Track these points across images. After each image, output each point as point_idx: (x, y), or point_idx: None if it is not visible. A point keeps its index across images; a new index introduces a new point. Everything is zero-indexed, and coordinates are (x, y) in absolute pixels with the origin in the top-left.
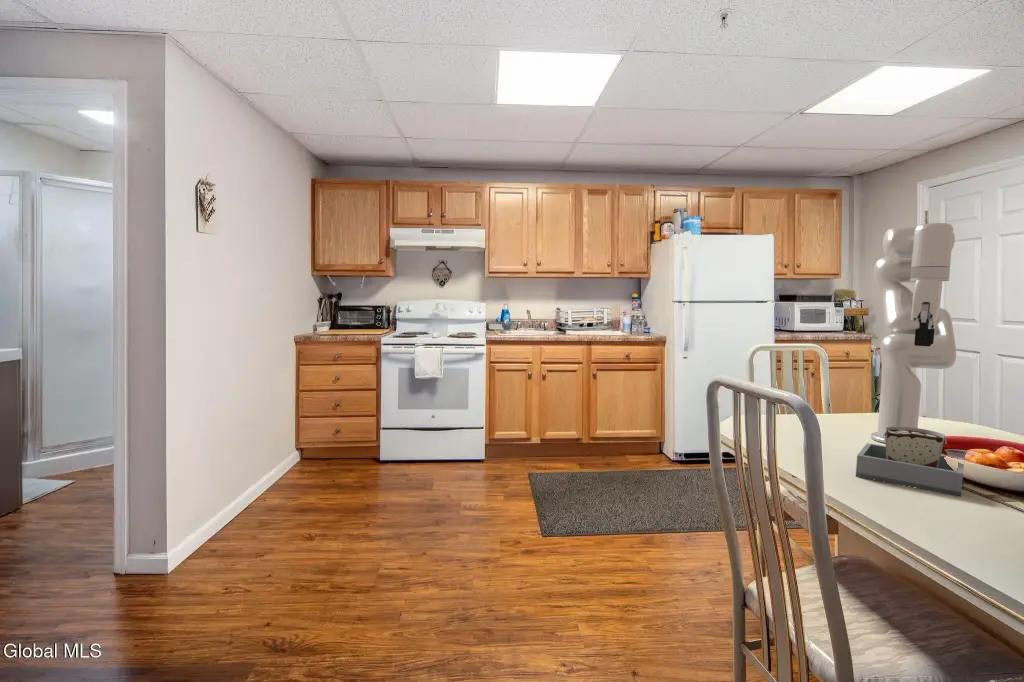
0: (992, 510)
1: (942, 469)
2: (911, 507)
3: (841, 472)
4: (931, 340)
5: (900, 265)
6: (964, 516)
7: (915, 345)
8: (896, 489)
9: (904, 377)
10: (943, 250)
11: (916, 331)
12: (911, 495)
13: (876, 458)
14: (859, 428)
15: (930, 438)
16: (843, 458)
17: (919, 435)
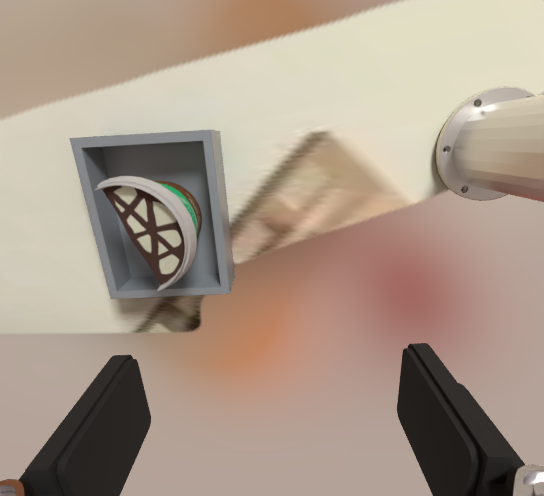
0: (100, 313)
1: (108, 273)
2: (9, 236)
3: (99, 110)
4: (407, 429)
5: None
6: (38, 290)
7: (118, 357)
8: (81, 207)
9: None
10: None
11: (45, 452)
12: (69, 229)
13: (80, 174)
14: None
15: (149, 265)
16: (216, 85)
17: (137, 248)
